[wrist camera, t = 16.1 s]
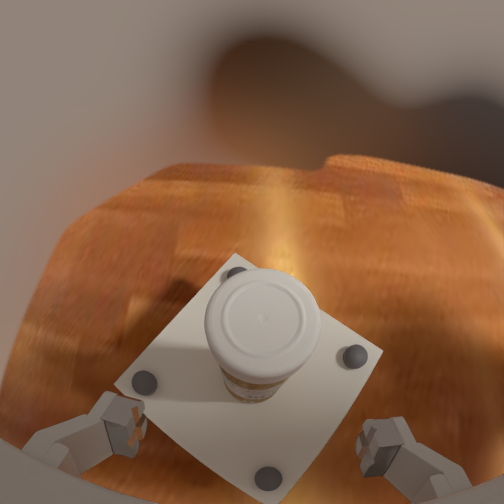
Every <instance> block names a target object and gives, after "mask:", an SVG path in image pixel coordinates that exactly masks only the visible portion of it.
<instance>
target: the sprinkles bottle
mask: <svg viewBox="0 0 504 504" xmlns="http://www.w3.org/2000/svg"><path fill="white" fill-rule="evenodd" d="M204 329H205V334H206V338H207V342H208V345H209V348H210V350H211V353H212V355H213V357H214V358H215V360H216V361H217V363H218V365H219V367H220V370H221V373H222V376H223V379H224V384H225V386H226V388H227V390H228V392H229V393H230V394H231V395H232V396H233V397H234V398H236V399H237V400H239V401H242V402H245V403H261V402H264V401H266V400H268V399H269V398H271V397H272V396H273V395H274V394H275V393H276V392H277V391H278V389H279V388H280V387H281V386H282V385H283V384H284V383H285V382H286V381H287V380H288V379H289V378H290V376H292V375H293V374H295V373H296V372H297V371H298V370H299V369H300V368H301V367H302V366H303V365H304V364H305V363H306V361H307V360H308V359H309V358H310V356H311V355H312V353H313V351H314V350H315V348H316V346H317V343H318V341H319V337H320V333H321V316H320V311H319V307H318V305H317V303H316V300H315V298H314V297H313V295H312V293H311V292H310V291H309V290H308V289H307V288H306V287H305V285H304V284H302V283H301V282H300V281H299V280H297V279H296V278H294V277H293V276H291V275H289V274H286V273H284V272H281V271H278V270H273V269H263V268H260V269H251V270H246V271H243V272H240V273H237V274H235V275H233V276H232V277H230V278H228V279H227V280H225V281H224V282H223V283H222V284H221V285H220V286H219V287H218V288H217V289H216V290H215V292H214V293H213V295H212V296H211V298H210V300H209V302H208V304H207V307H206V311H205V317H204Z"/></svg>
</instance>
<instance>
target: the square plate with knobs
mask: <svg viewBox="0 0 504 504" xmlns="http://www.w3.org/2000/svg"><path fill="white" fill-rule="evenodd" d="M251 269H259V268H257V267H256V266H254V265H253V264H251V263H250V262H248V261H247V260H245V259H244V258H242V257H241V256H239V255H238V254H236V253H235V254H234V255H233V256H232V257H231V258H230V259H229V260H228V261H227V262H226V263H225V264H224V265H223V266H222V267H221V268H220V269H219V271H218V272H217V273H216V274H215V275H214V276H213V277H212V278H211V279H210V280H209V281H208V282H207V283H206V284H205V285H204V287H203V288H202V289H201V290H200V291H199V292H198V293H197V294H196V295H195V296H194V297H193V298H192V299H191V300H190V302H189V303H188V304H187V305H186V306H185V307H184V308H183V309H182V310H181V311H180V312H179V313H178V314H177V315H176V317H175V318H174V319H173V320H172V321H171V322H170V323H169V324H168V325H167V326H166V327H165V328H164V330H163V331H162V332H161V333H160V334H159V335H158V336H157V337H156V338H155V339H154V340H153V341H152V343H151V344H150V345H149V346H148V347H147V348H146V349H145V350H144V351H143V352H142V353H141V354H140V356H139V357H138V358H137V359H136V360H135V361H134V362H133V363H132V364H131V365H130V366H129V368H128V369H127V370H126V371H125V372H124V373H123V374H122V375H121V376H120V377H119V379H118V380H117V381H116V382H115V383H114V385H115V386H116V387H117V388H118V389H119V390H120V391H121V392H122V393H123V394H124V395H125V396H128V397H132V398H136V399H140V400H143V401H144V404H145V410H144V412H143V413H144V414H145V415H146V417H147V418H149V419H150V420H151V421H152V422H153V423H154V424H155V425H156V426H157V427H159V428H160V429H161V430H162V431H163V432H164V433H165V434H167V435H168V436H169V437H170V438H171V439H173V440H174V441H175V442H176V443H177V444H179V445H180V446H181V447H182V448H183V449H185V450H186V451H187V452H189V453H190V454H191V455H192V456H194V457H195V458H196V459H198V460H199V461H200V462H202V463H203V464H204V465H206V466H207V467H208V468H210V469H211V470H212V471H214V472H215V473H217V474H218V475H219V476H221V477H222V478H224V479H225V480H227V481H228V482H230V483H231V484H233V485H234V486H236V487H237V488H239V489H240V490H242V491H243V492H245V493H246V494H248V495H250V496H251V497H253V498H254V499H256V500H258V501H259V502H261V503H263V504H279V503H280V501H281V500H282V499H283V498H284V497H285V496H286V494H287V493H288V492H289V491H290V490H291V489H292V487H293V486H294V485H295V484H296V483H297V481H298V480H299V479H300V478H301V476H302V475H303V474H304V473H305V471H306V470H307V469H308V467H309V466H310V465H311V464H312V462H313V461H314V460H315V458H316V457H317V456H318V454H319V453H320V452H321V450H322V449H323V447H324V446H325V445H326V443H327V442H328V440H329V439H330V438H331V436H332V435H333V433H334V432H335V430H336V429H337V427H338V426H339V424H340V423H341V421H342V420H343V418H344V417H345V415H346V414H347V412H348V411H349V409H350V408H351V406H352V404H353V403H354V401H355V400H356V398H357V396H358V395H359V393H360V391H361V390H362V388H363V386H364V385H365V383H366V381H367V380H368V378H369V376H370V374H371V373H372V371H373V369H374V367H375V366H376V364H377V362H378V360H379V358H380V356H381V355H382V353H383V350H381V349H380V348H378V347H377V346H375V345H374V344H372V343H371V342H369V341H368V340H366V339H365V338H363V337H362V336H360V335H358V334H357V333H355V332H354V331H352V330H351V329H349V328H348V327H346V326H345V325H343V324H342V323H340V322H339V321H337V320H336V319H334V318H333V317H331V316H330V315H328V314H327V313H325V312H324V311H322V310H320V309H319V311H320V316H321V333H320V337H319V341H318V343H317V346H316V348H315V350H314V351H313V353H312V355H311V356H310V358H309V359H308V360H307V361H306V363H305V364H304V365H303V366H302V367H301V368H300V369H299V370H298V371H297V372H296V373H295V374H293V375H292V376H290V378H289V379H288V380H287V381H286V382H285V383H284V384H283V385H282V386H281V387H280V388H279V389H278V391H277V392H276V393H275V394H274V395H273V396H272V397H271V398H269V399H268V400H266V401H264V402H261V403H245V402H242V401H239V400H237V399H236V398H234V397H233V396H232V395H231V394H230V393H229V392H228V390H227V388H226V386H225V384H224V379H223V376H222V373H221V370H220V367H219V365H218V363H217V361H216V360H215V358H214V357H213V355H212V353H211V350H210V348H209V345H208V342H207V338H206V334H205V329H204V317H205V311H206V307H207V304H208V302H209V300H210V298H211V296H212V295H213V293H214V292H215V290H216V289H217V288H218V287H219V286H220V285H221V284H222V283H223V282H224V281H225V280H227V279H228V278H230V277H232V276H233V275H235V274H237V273H240V272H243V271H246V270H251Z"/></svg>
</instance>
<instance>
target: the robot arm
mask: <svg viewBox="0 0 504 504" xmlns="http://www.w3.org/2000/svg"><path fill="white" fill-rule="evenodd" d="M144 410H145V404H144V401H143V400H140V399H136V398H132V397H128V396H125V395H121V394H116V393H113V392H110V391H105V392H104V393H103V394H102V396H101V397H100V398H99V400H98V401H97V402H96V404H95V405H94V407H93V408H92V409H91V411H90V412H89V413H88V415H85V414H83V415H80V416H78V417H75V418H73V419H70V420H67V421H65V422H62V423H59V424H56V425H54V426H51V427H48V428H45V429H42V430H39V431H36V432H35V434H34V435H33V436H32V437H31V438H30V440H29V441H28V442H27V443H26V445H25V446H24V447H23V448H22V450H20V449H18V448H17V447H15V446H13V445H11V444H10V443H8V442H6V441H5V440H3V439H1V438H0V504H159V503H155V502H151V501H147V500H143V499H140V498H136V497H133V496H129V495H126V494H123V493H119V492H116V491H113V490H110V489H107V488H104V487H102V486H99V485H96V484H93V483H91V482H88V481H86V480H83V478H82V476H81V474H82V473H83V472H85V471H87V470H88V469H90V468H92V467H93V466H95V465H97V464H98V463H100V462H101V461H103V460H105V459H106V458H108V457H109V456H111V455H113V453H115V454H119V455H122V456H126V457H130V458H135V456H136V453H137V451H138V449H139V447H140V446H139V441H140V440H142V439H143V438H144V436H145V433H146V429H147V417H146V415H145V414H144V413H143V412H144ZM362 428H363V432H362V433H360V434H359V435H358V438H357V440H356V454H357V457H358V458H359V459H361V460H362V461H361V463H360V468H361V472H362V475H363V477H374V476H383V477H384V478H385V479H387V480H388V481H389V482H390V483H391V484H392V485H393V486H394V487H395V488H396V489H397V490H399V491H400V492H401V493H402V494H403V495H404V496H405V497H406V498H407V499H409V500H410V501H411V503H410V504H504V474H502V475H500V476H498V477H495V478H493V479H491V480H488V481H486V482H483V483H481V484H478V485H476V486H472V484H471V482H470V481H469V479H468V477H467V475H466V473H465V472H464V470H463V468H462V467H461V466H459V465H458V464H456V463H454V462H452V461H451V460H449V459H447V458H445V457H444V456H442V455H440V454H439V453H437V452H435V451H433V450H432V449H430V448H428V447H427V446H425V445H423V444H422V443H417V442H416V440H415V438H414V436H413V434H412V432H411V430H410V429H409V427H408V425H407V423H406V421H405V419H404V418H403V417H402V416H399V417H390V418H379V419H366V420H365V421H364V423H363V426H362Z"/></svg>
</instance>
